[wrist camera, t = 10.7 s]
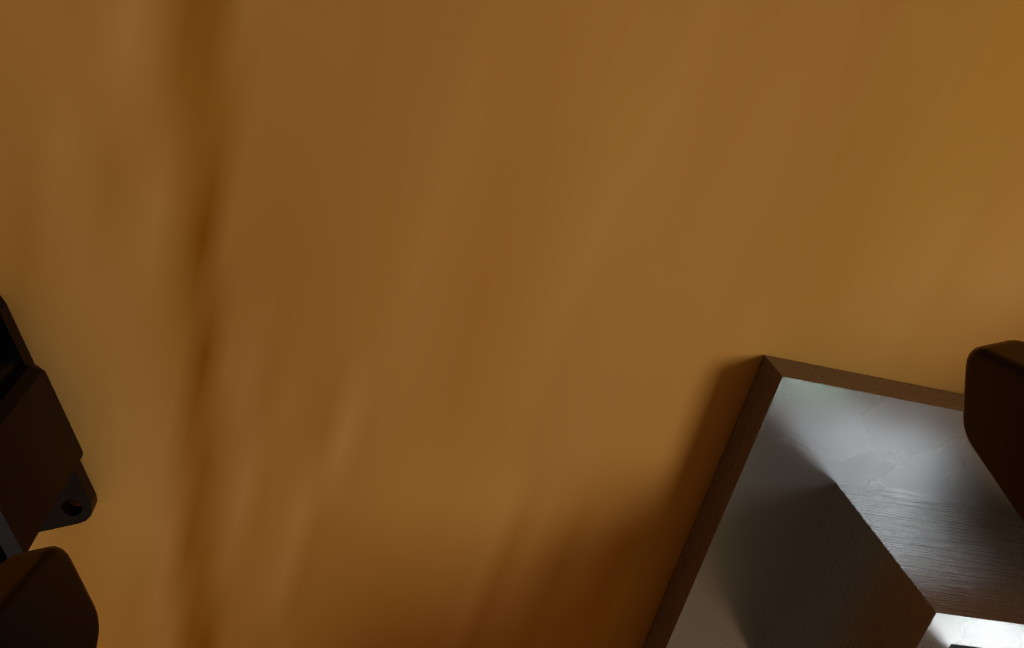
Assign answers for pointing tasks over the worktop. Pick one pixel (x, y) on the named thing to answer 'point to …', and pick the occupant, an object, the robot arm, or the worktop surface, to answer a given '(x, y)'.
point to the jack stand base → (848, 525)
